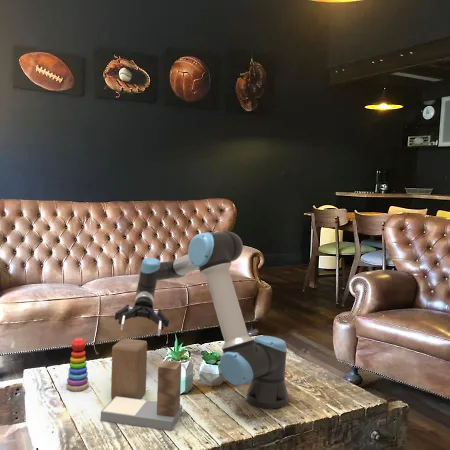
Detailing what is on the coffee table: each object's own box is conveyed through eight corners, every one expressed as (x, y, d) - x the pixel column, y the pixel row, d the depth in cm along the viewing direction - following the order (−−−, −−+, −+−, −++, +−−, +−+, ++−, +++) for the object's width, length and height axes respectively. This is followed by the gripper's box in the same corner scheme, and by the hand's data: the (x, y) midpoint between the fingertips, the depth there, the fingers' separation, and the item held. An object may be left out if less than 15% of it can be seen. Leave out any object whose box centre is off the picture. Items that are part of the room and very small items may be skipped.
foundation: (181, 413, 170) (182, 404, 170) (171, 430, 158) (171, 421, 158) (115, 404, 175) (115, 395, 174) (100, 420, 163) (100, 411, 163)
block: (136, 404, 175) (138, 349, 173) (109, 400, 177) (111, 346, 175) (146, 392, 185) (148, 340, 183) (121, 389, 187) (122, 337, 185)
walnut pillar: (179, 408, 167) (181, 362, 165) (174, 417, 161) (176, 369, 159) (162, 406, 168) (164, 360, 166) (156, 414, 162) (158, 367, 160)
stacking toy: (91, 389, 186) (92, 340, 184) (70, 393, 181) (70, 343, 180) (84, 381, 192) (85, 334, 191) (63, 385, 188) (64, 337, 186)
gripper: (172, 317, 205) (172, 343, 184) (111, 308, 201) (104, 334, 181) (176, 300, 203) (176, 325, 183) (114, 291, 199) (107, 315, 179)
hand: (140, 329), depth 182 cm, fingers open, 13 cm apart
